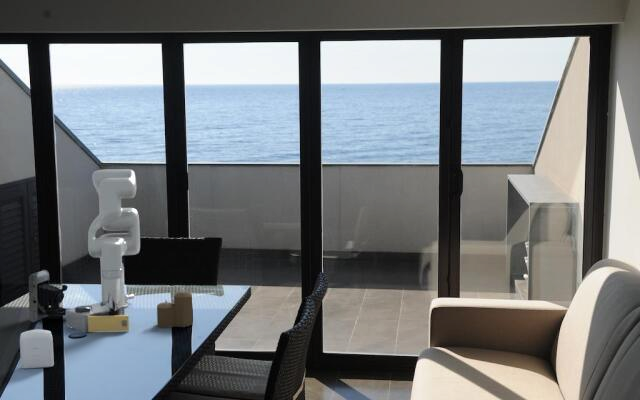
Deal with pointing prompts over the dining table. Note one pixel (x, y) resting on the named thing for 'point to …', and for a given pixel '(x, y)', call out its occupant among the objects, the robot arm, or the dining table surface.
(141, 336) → the dining table surface
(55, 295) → the vintage camera
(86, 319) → the ochre side door
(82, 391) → the dining table surface
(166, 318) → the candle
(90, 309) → the aluminium camera mock-up
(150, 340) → the dining table surface
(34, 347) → the photo printer
